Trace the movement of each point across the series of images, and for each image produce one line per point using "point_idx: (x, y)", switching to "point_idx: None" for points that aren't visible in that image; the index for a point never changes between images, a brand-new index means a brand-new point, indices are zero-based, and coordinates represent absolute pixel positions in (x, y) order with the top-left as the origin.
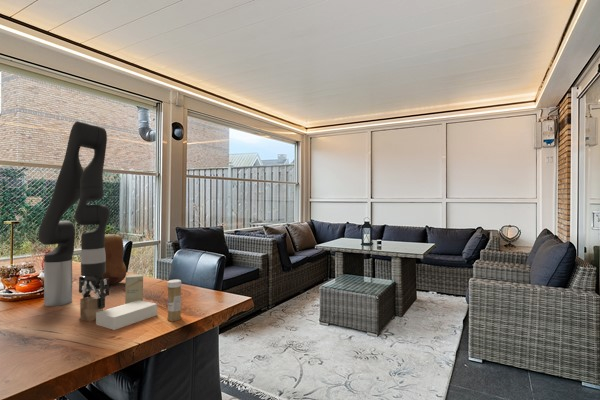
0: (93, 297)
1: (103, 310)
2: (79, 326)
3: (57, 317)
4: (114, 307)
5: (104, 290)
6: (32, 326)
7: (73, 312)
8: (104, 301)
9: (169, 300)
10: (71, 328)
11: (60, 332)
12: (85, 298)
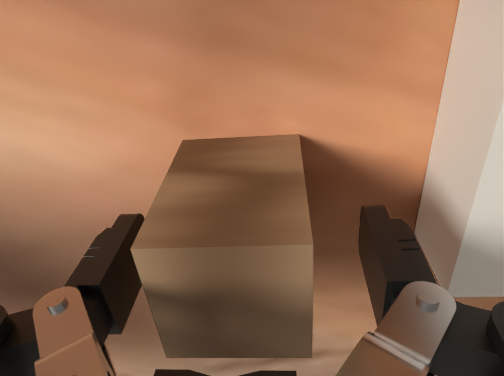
0: (223, 293)
1: (465, 253)
2: (345, 285)
3: (62, 278)
4: (497, 161)
5: (429, 359)
6: (136, 365)
7: (8, 197)
8: (422, 260)
9: None
10: (335, 312)
11: (341, 348)
12: (190, 335)
